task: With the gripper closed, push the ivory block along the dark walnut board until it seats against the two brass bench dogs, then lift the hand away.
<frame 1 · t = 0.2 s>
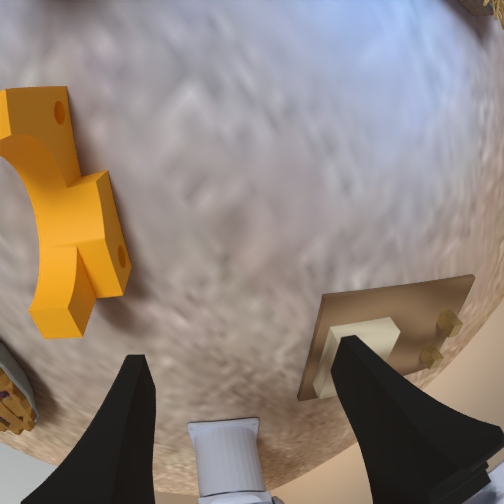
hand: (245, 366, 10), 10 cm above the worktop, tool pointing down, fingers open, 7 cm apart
bench dogs: (434, 333, 27), resting on bench board
bench board: (390, 339, 27), on the worktop
ivory block: (350, 353, 26), point 1 cm above the worktop, touching bench board
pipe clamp: (79, 183, 15), on the worktop
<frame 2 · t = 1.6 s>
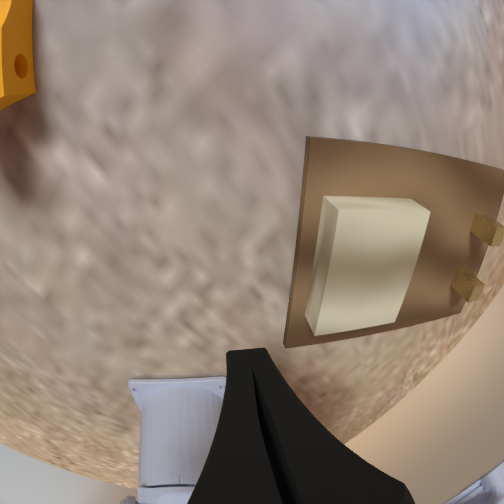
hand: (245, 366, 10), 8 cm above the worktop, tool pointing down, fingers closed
bench dogs: (468, 250, 19), resting on bench board
bench board: (413, 250, 19), on the worktop
ivory block: (358, 259, 18), point 1 cm above the worktop, touching bench board
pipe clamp: (6, 15, 7), on the worktop
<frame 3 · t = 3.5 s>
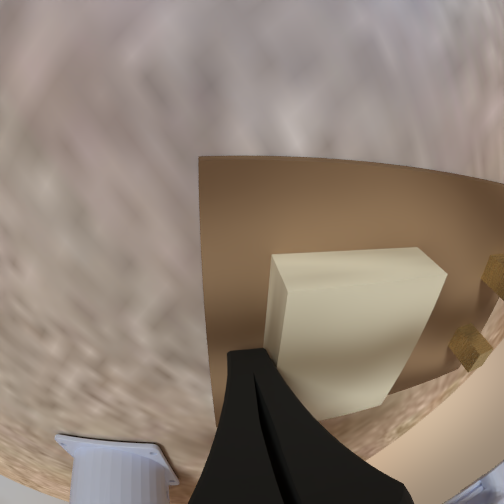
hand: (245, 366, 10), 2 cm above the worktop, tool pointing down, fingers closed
bench dogs: (476, 302, 14), resting on bench board
bench board: (397, 312, 13), on the worktop
ivory block: (333, 333, 12), point 1 cm above the worktop
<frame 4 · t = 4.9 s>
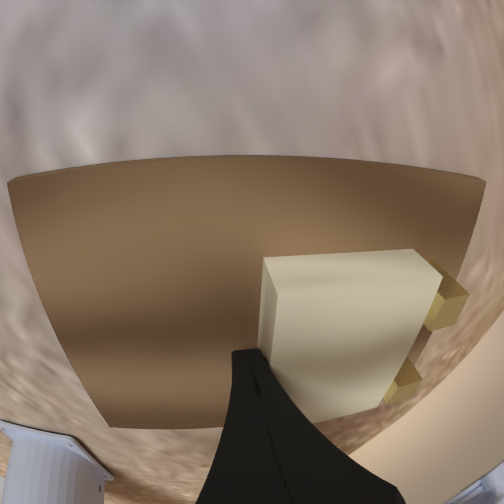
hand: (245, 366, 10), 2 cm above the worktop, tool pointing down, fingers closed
bench dogs: (399, 321, 13), resting on bench board
bench board: (273, 330, 12), on the worktop
ivory block: (327, 335, 12), point 1 cm above the worktop, touching bench board, bench dogs, gripper
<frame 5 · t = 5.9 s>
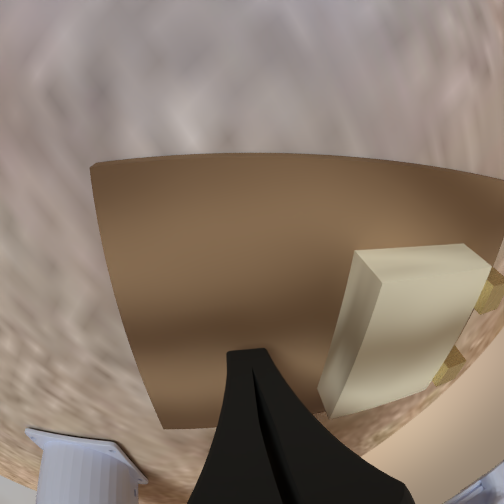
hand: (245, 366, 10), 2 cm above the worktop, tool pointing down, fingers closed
bench dogs: (446, 309, 13), resting on bench board
bench board: (344, 320, 13), on the worktop
ivory block: (391, 323, 12), point 1 cm above the worktop, touching bench board, bench dogs
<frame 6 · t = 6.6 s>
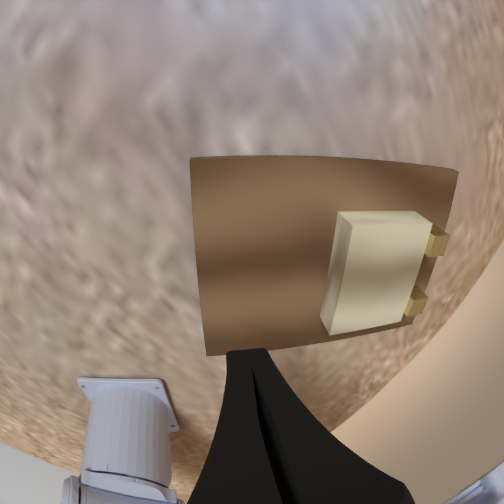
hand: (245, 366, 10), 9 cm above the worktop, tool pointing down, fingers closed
bench dogs: (409, 260, 20), resting on bench board
bench board: (335, 262, 20), on the worktop
ivory block: (368, 265, 19), point 1 cm above the worktop, touching bench board, bench dogs
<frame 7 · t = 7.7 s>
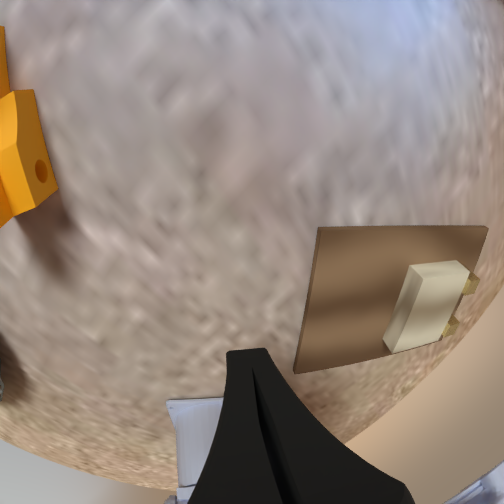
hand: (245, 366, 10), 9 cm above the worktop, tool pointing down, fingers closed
bench dogs: (447, 294, 24), resting on bench board
bench board: (399, 298, 24), on the worktop
ivory block: (420, 300, 24), point 1 cm above the worktop, touching bench board, bench dogs
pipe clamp: (11, 110, 12), on the worktop
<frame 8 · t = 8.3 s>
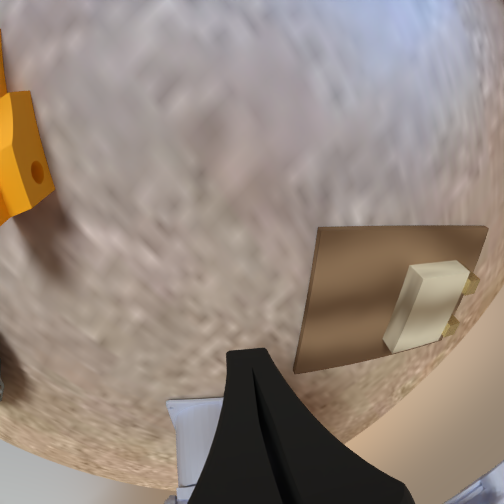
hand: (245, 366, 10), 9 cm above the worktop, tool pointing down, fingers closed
bench dogs: (447, 294, 24), resting on bench board
bench board: (399, 298, 24), on the worktop
ivory block: (420, 300, 24), point 1 cm above the worktop, touching bench board, bench dogs
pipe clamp: (8, 111, 12), on the worktop
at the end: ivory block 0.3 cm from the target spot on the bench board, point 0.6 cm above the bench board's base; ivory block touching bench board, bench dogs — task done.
